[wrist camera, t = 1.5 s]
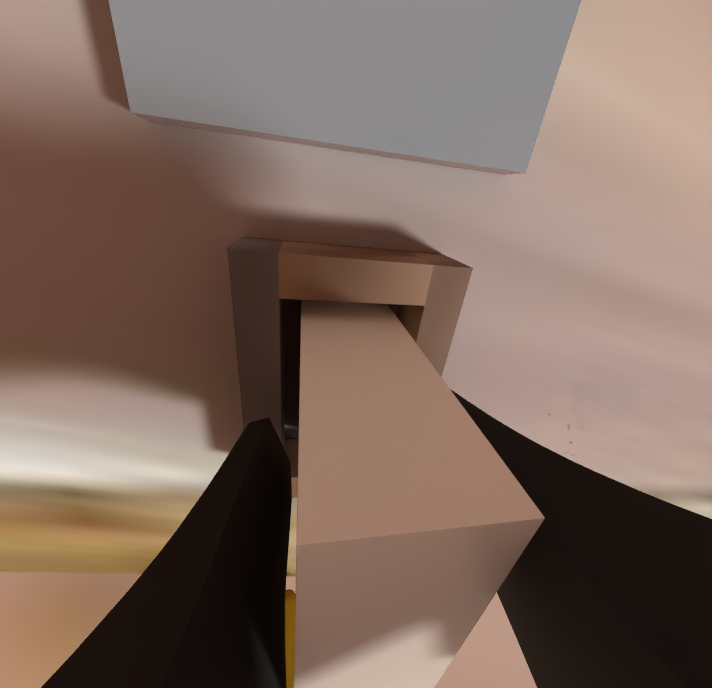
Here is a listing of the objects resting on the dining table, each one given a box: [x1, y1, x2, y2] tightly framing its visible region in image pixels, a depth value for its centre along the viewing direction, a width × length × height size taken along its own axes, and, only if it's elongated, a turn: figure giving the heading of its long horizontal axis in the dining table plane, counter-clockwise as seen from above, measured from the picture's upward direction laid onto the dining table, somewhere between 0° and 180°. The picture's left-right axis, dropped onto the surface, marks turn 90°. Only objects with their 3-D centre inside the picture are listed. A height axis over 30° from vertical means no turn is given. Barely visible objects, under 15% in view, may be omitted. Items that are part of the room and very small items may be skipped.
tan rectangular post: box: [294, 300, 545, 688], centre depth 8 cm, size 3×6×8 cm, turn 174°
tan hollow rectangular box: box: [228, 237, 473, 498], centre depth 11 cm, size 7×10×2 cm
